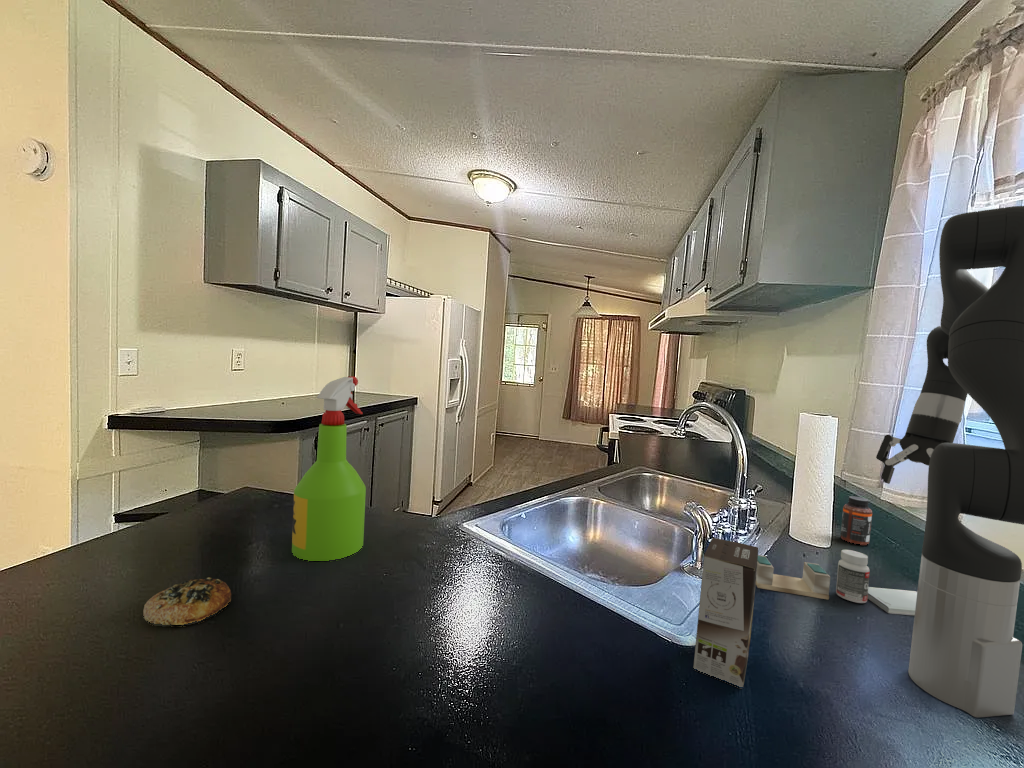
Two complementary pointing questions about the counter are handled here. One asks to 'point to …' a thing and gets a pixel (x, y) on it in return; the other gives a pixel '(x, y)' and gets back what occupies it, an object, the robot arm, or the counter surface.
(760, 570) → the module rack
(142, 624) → the counter surface
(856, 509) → the supplement bottle
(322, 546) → the spray bottle
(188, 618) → the bread roll
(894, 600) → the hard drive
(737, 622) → the coffee box
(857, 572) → the pill bottle
